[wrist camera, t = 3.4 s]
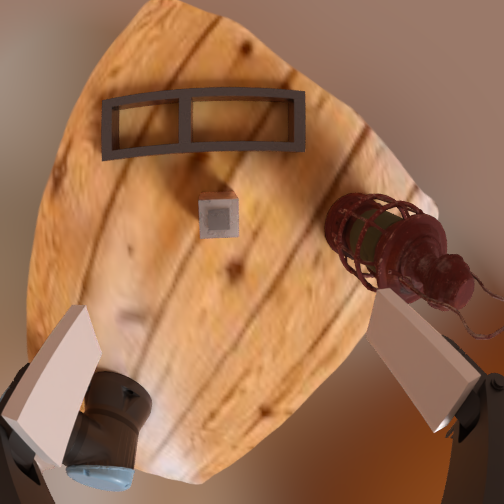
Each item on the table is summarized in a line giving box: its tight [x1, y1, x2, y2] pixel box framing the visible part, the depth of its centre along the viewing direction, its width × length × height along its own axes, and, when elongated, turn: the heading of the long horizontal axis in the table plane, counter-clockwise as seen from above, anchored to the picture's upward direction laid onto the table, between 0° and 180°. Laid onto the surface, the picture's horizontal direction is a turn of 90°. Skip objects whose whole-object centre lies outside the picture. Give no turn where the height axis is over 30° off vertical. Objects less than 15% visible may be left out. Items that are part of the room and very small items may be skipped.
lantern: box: [325, 193, 504, 339], centre depth 27 cm, size 12×12×30 cm
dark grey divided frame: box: [101, 87, 305, 161], centre depth 32 cm, size 26×8×3 cm, turn 90°
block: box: [198, 191, 239, 239], centre depth 34 cm, size 4×4×7 cm
